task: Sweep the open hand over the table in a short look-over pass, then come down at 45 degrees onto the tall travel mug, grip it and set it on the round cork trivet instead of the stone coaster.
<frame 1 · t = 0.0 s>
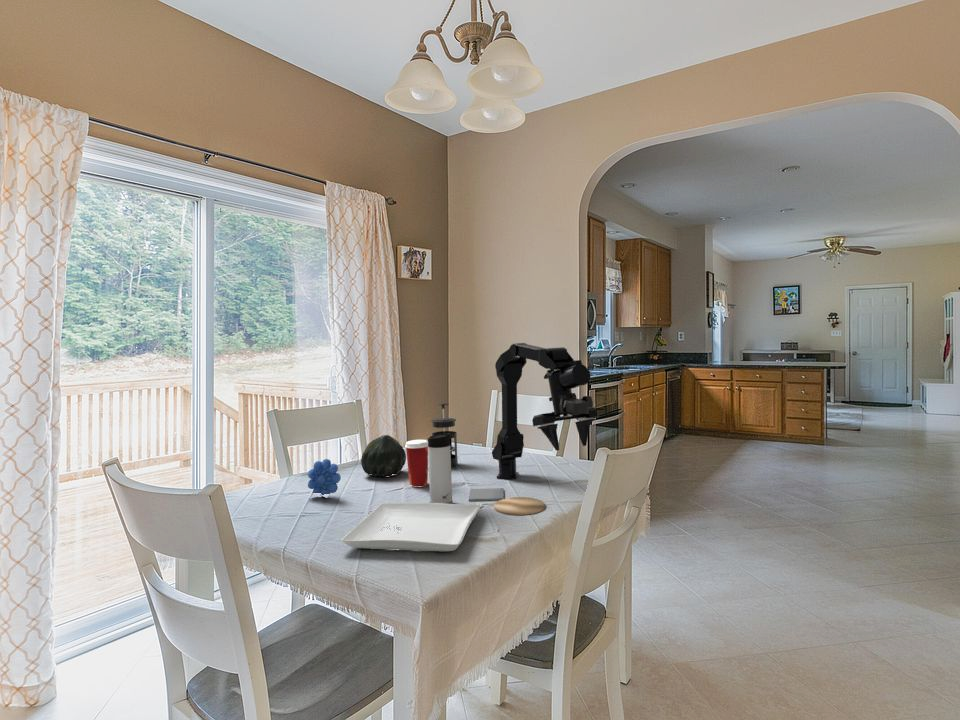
hand: (571, 448, 145), 15 cm above the table, tool pointing down, fingers open, 9 cm apart
french press: (445, 466, 193), on the table
squash: (384, 475, 184), on the table
cork trivet: (519, 506, 145), on the table
stone coaster: (486, 495, 157), on the table
travel mug: (442, 504, 150), on the table
blue lobed thick disc: (326, 497, 161), on the table
square plate: (416, 535, 129), on the table
paper cup: (418, 485, 170), on the table
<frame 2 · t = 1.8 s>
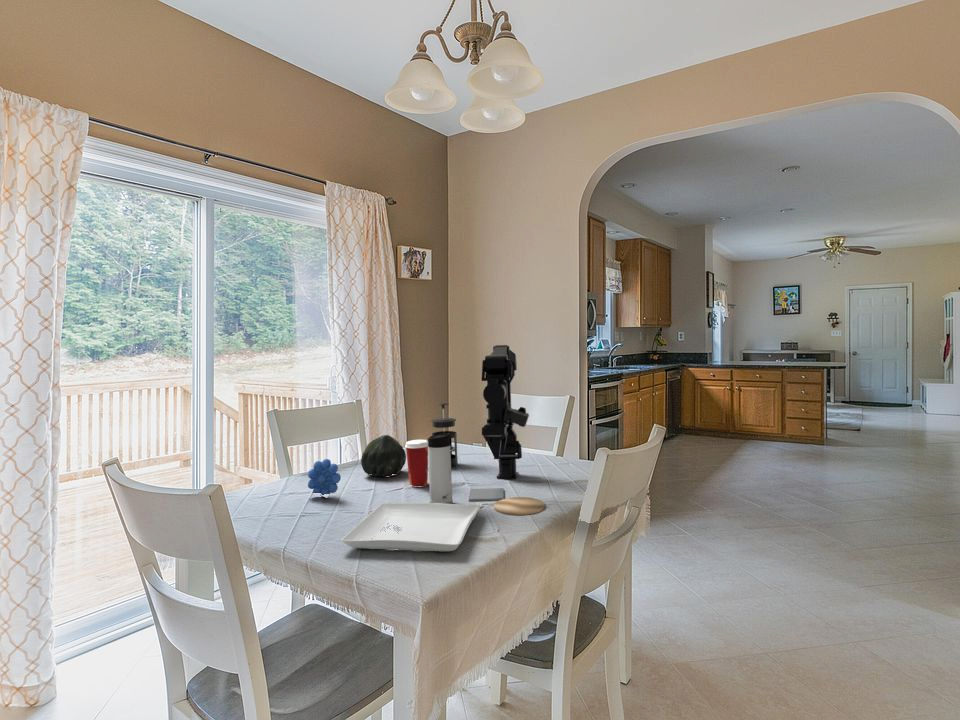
hand: (499, 455, 150), 13 cm above the table, tool pointing down, fingers open, 9 cm apart
nothing on the table moved.
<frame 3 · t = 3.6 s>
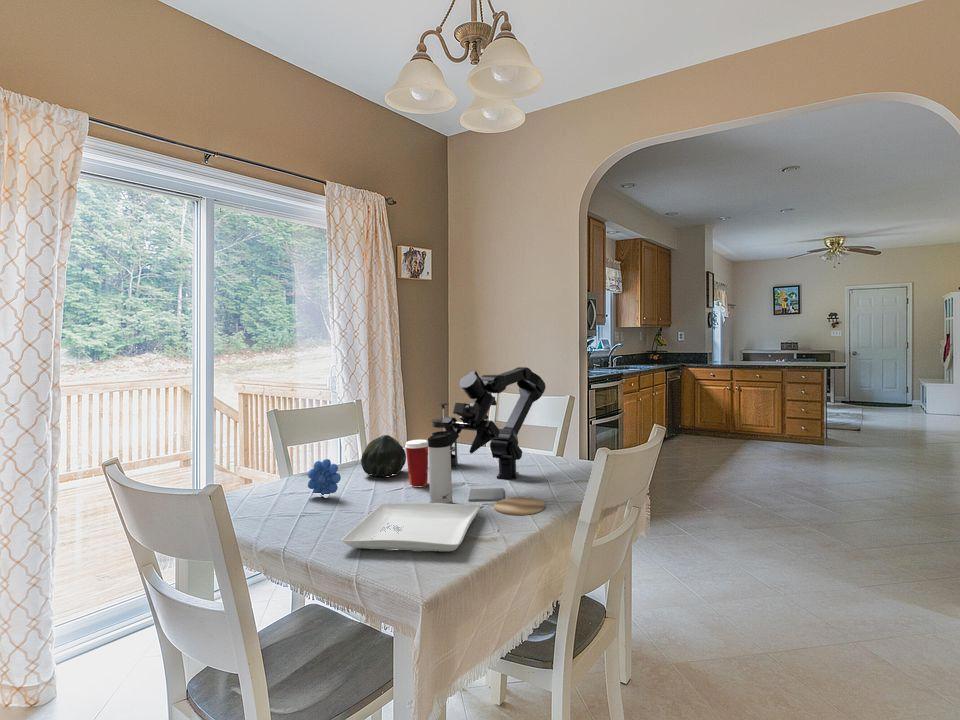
hand: (458, 451, 156), 14 cm above the table, tool tilted 45°, fingers open, 9 cm apart
nothing on the table moved.
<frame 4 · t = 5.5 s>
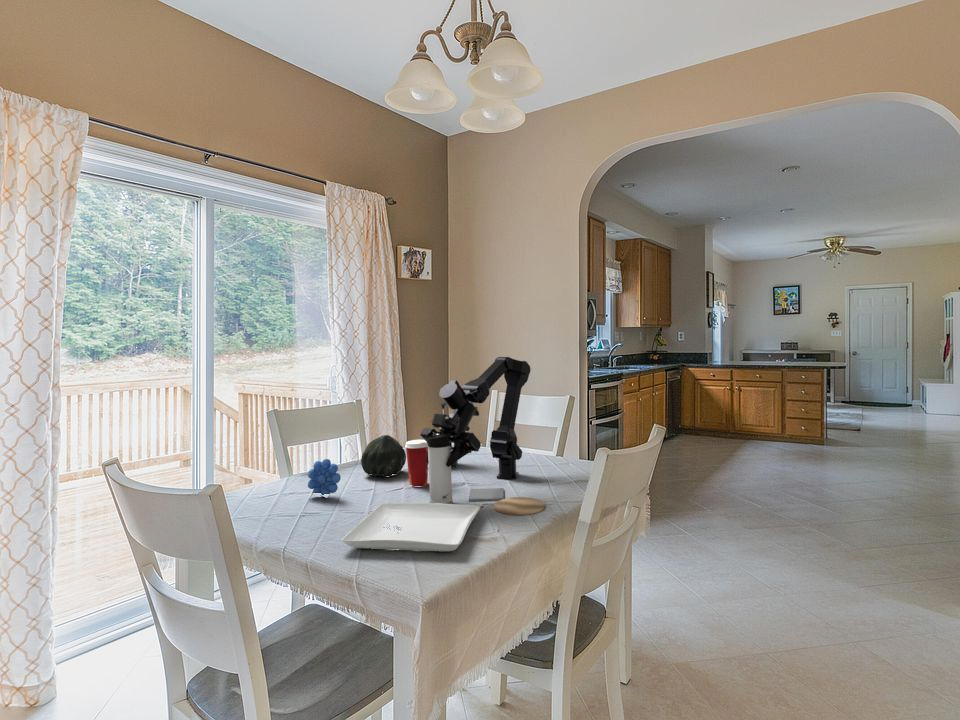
hand: (437, 464, 148), 12 cm above the table, tool tilted 45°, fingers open, 7 cm apart
travel mug: (442, 504, 150), on the table, touching gripper
everything else where it was.
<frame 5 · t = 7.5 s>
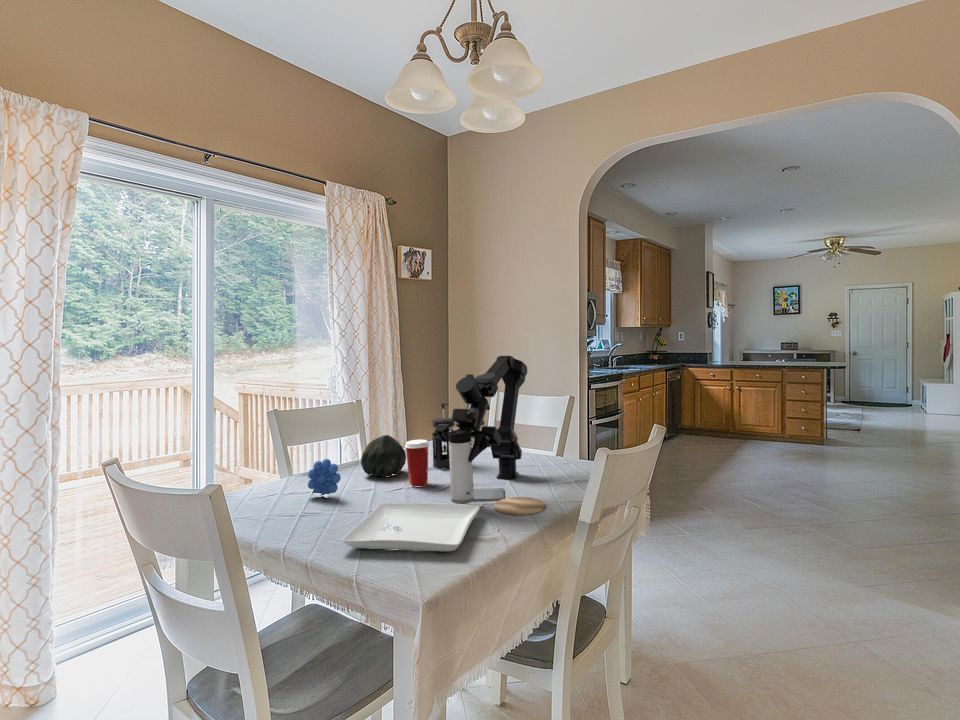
hand: (458, 460, 145), 13 cm above the table, tool tilted 45°, fingers closed on travel mug, 6 cm apart
travel mug: (463, 501, 147), point 1 cm above the table, touching gripper
everything else where it was.
when the fingers open (12 cm above the table, at t = 9.5 s): travel mug stays where it is, resting on cork trivet.
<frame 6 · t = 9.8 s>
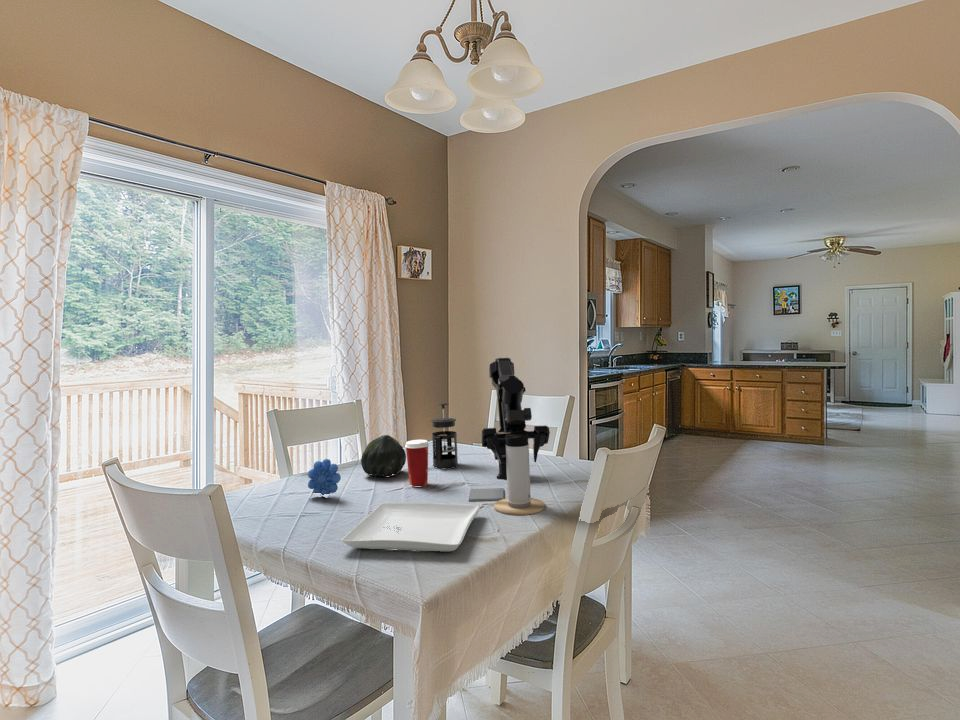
hand: (518, 462, 143), 13 cm above the table, tool tilted 45°, fingers open, 9 cm apart
travel mug: (519, 505, 146), resting on cork trivet, touching gripper
everything else where it was.
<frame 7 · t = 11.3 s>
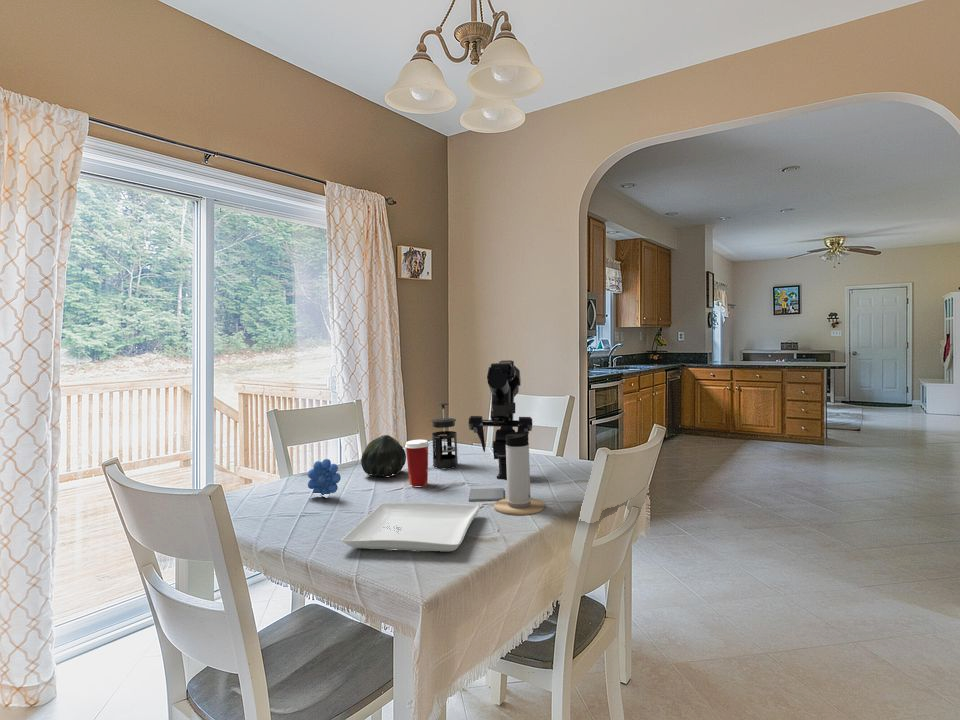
hand: (500, 451, 155), 13 cm above the table, tool tilted 30°, fingers open, 9 cm apart
travel mug: (519, 505, 146), resting on cork trivet
everything else where it was.
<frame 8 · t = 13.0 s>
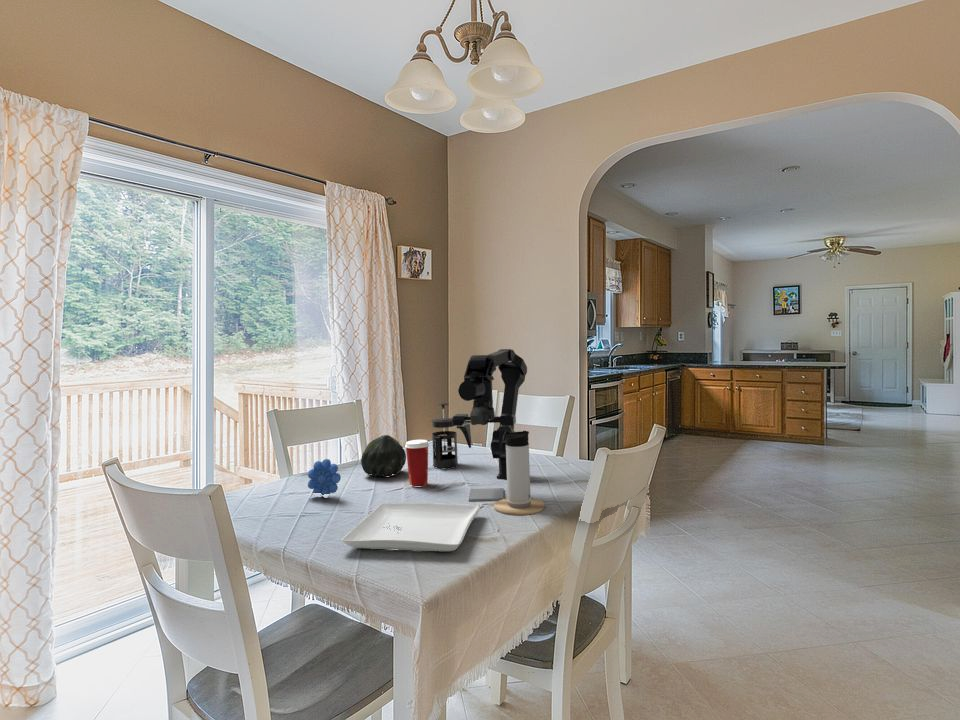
hand: (484, 447, 161), 13 cm above the table, tool pointing down, fingers open, 9 cm apart
nothing on the table moved.
at the end: travel mug inside the target area on the cork trivet (0.3 cm from its centre), point 0.2 cm above the cork trivet's base; travel mug tilted 0°; the gripper is holding nothing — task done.
